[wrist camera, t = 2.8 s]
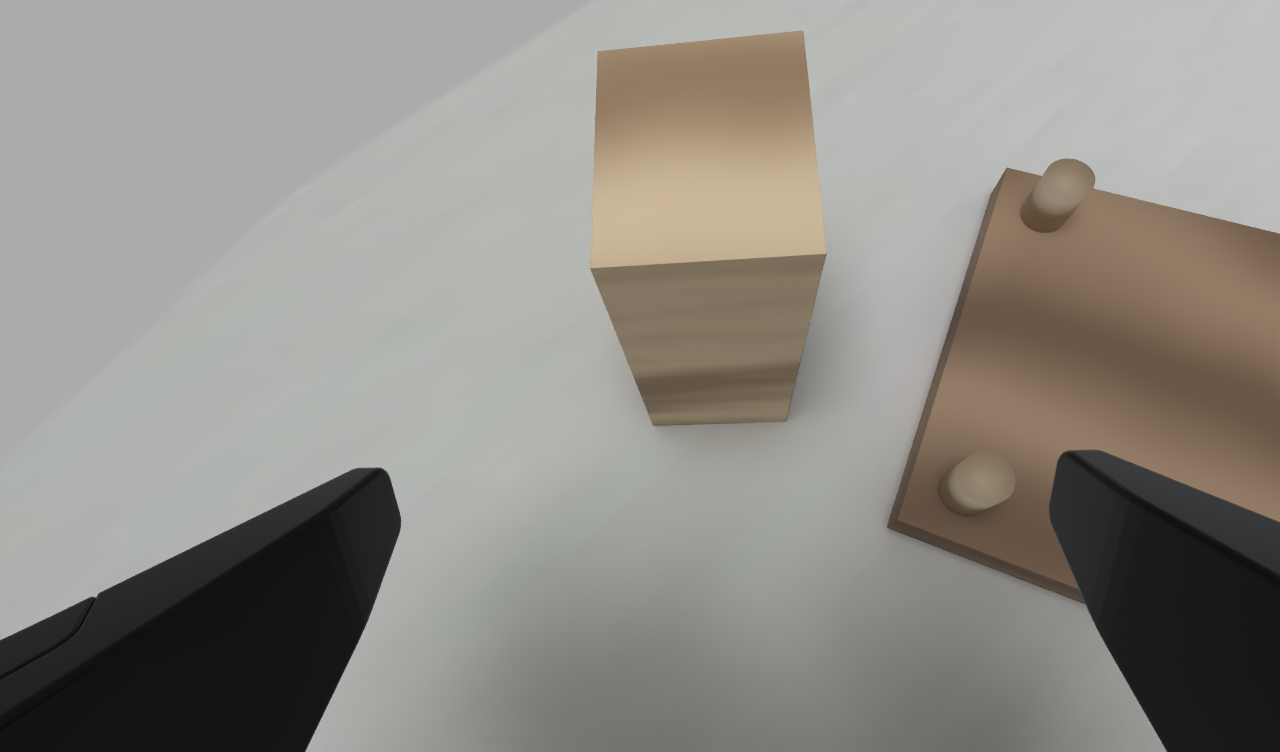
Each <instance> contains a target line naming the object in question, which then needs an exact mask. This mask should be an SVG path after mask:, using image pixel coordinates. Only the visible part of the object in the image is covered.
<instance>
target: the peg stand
mask: <svg viewBox="0 0 1280 752" xmlns="http://www.w3.org/2000/svg"><path fill="white" fill-rule="evenodd" d="M1094 184H1095V175H1094V173H1093V171H1092V170H1091V168H1090V167H1089V166H1087V165H1086V164H1085V163H1083V162H1081V161H1078V160H1075V159H1061V160H1058V161H1055V162H1053V163H1052V164H1051V165H1050V166H1049V167H1048V168H1047V170H1046V171H1045V173H1044V174H1043V176H1039V175H1035V174H1031V173H1027V172H1023V171H1018V170H1014V169H1010V168H1006V170H1005V172H1004V173H1003V175H1002V177H1001V178H1000V180H999V182H998V183H997V185H996V187H995V189H994V190H993V192H992V194H991V197H990V200H989V203H988V206H987V210H986V213H985V216H984V219H983V222H982V226H981V229H980V232H979V235H978V238H977V241H976V245H975V248H974V251H973V254H972V257H971V261H970V264H969V267H968V270H967V273H966V277H965V280H964V283H963V286H962V289H961V293H960V296H959V299H958V302H957V305H956V308H955V312H954V315H953V318H952V321H951V324H950V328H949V331H948V334H947V337H946V340H945V344H944V347H943V350H942V353H941V356H940V359H939V363H938V366H937V369H936V372H935V375H934V379H933V382H932V385H931V388H930V391H929V395H928V398H927V401H926V404H925V407H924V411H923V414H922V417H921V420H920V423H919V426H918V430H917V433H916V436H915V439H914V442H913V446H912V449H911V452H910V455H909V458H908V462H907V465H906V468H905V471H904V474H903V477H902V481H901V484H900V487H899V490H898V493H897V497H896V500H895V503H894V506H893V509H892V513H891V516H890V519H889V522H888V525H887V527H888V528H890V529H893V530H895V531H898V532H901V533H903V534H906V535H908V536H911V537H914V538H916V539H919V540H921V541H924V542H927V543H929V544H932V545H934V546H937V547H940V548H942V549H945V550H947V551H950V552H953V553H955V554H958V555H960V556H963V557H966V558H968V559H971V560H973V561H976V562H978V563H981V564H984V565H986V566H989V567H991V568H994V569H997V570H999V571H1002V572H1004V573H1007V574H1010V575H1012V576H1015V577H1017V578H1020V579H1023V580H1025V581H1028V582H1030V583H1033V584H1036V585H1038V586H1041V587H1043V588H1046V589H1049V590H1051V591H1054V592H1056V593H1059V594H1061V595H1064V596H1067V597H1069V598H1072V599H1074V600H1077V601H1080V602H1082V603H1085V601H1084V599H1083V597H1082V594H1081V592H1080V590H1079V587H1078V585H1077V583H1076V580H1075V578H1074V576H1073V573H1072V571H1071V569H1070V566H1069V564H1068V562H1067V560H1066V557H1065V555H1064V553H1063V550H1062V548H1061V546H1060V543H1059V541H1058V539H1057V536H1056V534H1055V532H1054V529H1053V527H1052V525H1051V521H1050V517H1049V501H1050V496H1051V491H1052V486H1053V481H1054V475H1055V470H1056V465H1057V461H1058V459H1059V457H1060V455H1061V454H1062V453H1063V452H1065V451H1068V450H1101V451H1104V452H1106V453H1109V454H1111V455H1114V456H1116V457H1119V458H1121V459H1124V460H1126V461H1129V462H1131V463H1134V464H1136V465H1139V466H1141V467H1144V468H1146V469H1149V470H1151V471H1154V472H1156V473H1159V474H1161V475H1164V476H1166V477H1169V478H1171V479H1174V480H1176V481H1179V482H1181V483H1184V484H1186V485H1189V486H1191V487H1194V488H1196V489H1199V490H1201V491H1204V492H1206V493H1209V494H1211V495H1214V496H1216V497H1219V498H1221V499H1224V500H1226V501H1229V502H1231V503H1234V504H1236V505H1239V506H1241V507H1244V508H1246V509H1249V510H1251V511H1254V512H1256V513H1259V514H1261V515H1264V516H1266V517H1269V518H1271V519H1274V520H1276V521H1279V522H1280V234H1278V233H1274V232H1270V231H1266V230H1262V229H1258V228H1254V227H1250V226H1245V225H1241V224H1237V223H1233V222H1229V221H1225V220H1221V219H1217V218H1212V217H1208V216H1204V215H1200V214H1196V213H1192V212H1188V211H1184V210H1179V209H1175V208H1171V207H1167V206H1163V205H1159V204H1155V203H1151V202H1146V201H1142V200H1138V199H1134V198H1130V197H1126V196H1122V195H1117V194H1113V193H1109V192H1105V191H1101V190H1097V189H1093V187H1094Z"/></svg>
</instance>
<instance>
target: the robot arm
mask: <svg viewBox="0 0 1280 752" xmlns="http://www.w3.org/2000/svg"><path fill="white" fill-rule="evenodd" d="M1049 517H1050V521H1051V525H1052V527H1053V529H1054V532H1055V534H1056V536H1057V539H1058V541H1059V543H1060V546H1061V548H1062V550H1063V553H1064V555H1065V557H1066V560H1067V562H1068V564H1069V566H1070V569H1071V571H1072V573H1073V576H1074V578H1075V580H1076V583H1077V585H1078V587H1079V590H1080V592H1081V594H1082V597H1083V599H1084V601H1085V604H1086V606H1087V608H1088V611H1089V613H1090V615H1091V617H1092V619H1093V621H1094V623H1095V625H1096V628H1097V629H1098V631H1099V633H1100V635H1101V637H1102V639H1103V641H1104V642H1105V644H1106V646H1107V648H1108V650H1109V651H1110V653H1111V655H1112V657H1113V658H1114V660H1115V662H1116V664H1117V665H1118V667H1119V669H1120V671H1121V672H1122V674H1123V676H1124V677H1125V679H1126V681H1127V683H1128V684H1129V686H1130V688H1131V690H1132V691H1133V693H1134V695H1135V697H1136V698H1137V700H1138V702H1139V704H1140V705H1141V707H1142V709H1143V711H1144V712H1145V714H1146V716H1147V718H1148V719H1149V721H1150V723H1151V724H1152V726H1153V728H1154V730H1155V731H1156V733H1157V735H1158V737H1159V738H1160V740H1161V742H1162V744H1163V745H1164V747H1165V749H1166V751H1167V752H1280V522H1279V521H1276V520H1274V519H1271V518H1269V517H1266V516H1264V515H1261V514H1259V513H1256V512H1254V511H1251V510H1249V509H1246V508H1244V507H1241V506H1239V505H1236V504H1234V503H1231V502H1229V501H1226V500H1224V499H1221V498H1219V497H1216V496H1214V495H1211V494H1209V493H1206V492H1204V491H1201V490H1199V489H1196V488H1194V487H1191V486H1189V485H1186V484H1184V483H1181V482H1179V481H1176V480H1174V479H1171V478H1169V477H1166V476H1164V475H1161V474H1159V473H1156V472H1154V471H1151V470H1149V469H1146V468H1144V467H1141V466H1139V465H1136V464H1134V463H1131V462H1129V461H1126V460H1124V459H1121V458H1119V457H1116V456H1114V455H1111V454H1109V453H1106V452H1104V451H1101V450H1068V451H1065V452H1063V453H1062V454H1061V455H1060V457H1059V459H1058V461H1057V465H1056V470H1055V475H1054V481H1053V486H1052V491H1051V496H1050V501H1049ZM400 528H401V516H400V512H399V508H398V504H397V501H396V497H395V494H394V490H393V487H392V483H391V480H390V477H389V474H388V473H387V471H385V470H384V469H382V468H356V469H353V470H351V471H349V472H347V473H344V474H342V475H340V476H338V477H336V478H334V479H332V480H330V481H328V482H326V483H324V484H322V485H320V486H318V487H316V488H314V489H312V490H310V491H308V492H306V493H303V494H301V495H299V496H297V497H295V498H293V499H291V500H289V501H287V502H285V503H283V504H281V505H279V506H277V507H275V508H273V509H271V510H269V511H267V512H264V513H262V514H260V515H258V516H256V517H254V518H252V519H250V520H248V521H246V522H244V523H242V524H240V525H238V526H236V527H234V528H232V529H230V530H228V531H225V532H223V533H221V534H219V535H217V536H215V537H213V538H211V539H209V540H207V541H205V542H203V543H201V544H199V545H197V546H195V547H193V548H191V549H189V550H187V551H184V552H182V553H180V554H178V555H176V556H174V557H172V558H170V559H168V560H166V561H164V562H162V563H160V564H158V565H156V566H154V567H152V568H150V569H148V570H145V571H143V572H141V573H139V574H137V575H135V576H133V577H131V578H129V579H127V580H125V581H123V582H121V583H119V584H117V585H115V586H113V587H111V588H109V589H106V590H104V591H102V592H100V593H99V594H98V595H97V597H96V598H95V597H90V598H88V599H86V600H84V601H82V602H80V603H77V604H75V605H73V606H71V607H69V608H67V609H65V610H63V611H61V612H59V613H57V614H55V615H53V616H51V617H49V618H46V619H44V620H42V621H40V622H38V623H36V624H34V625H32V626H30V627H27V628H25V629H23V630H21V631H19V632H17V633H15V634H13V635H11V636H8V637H6V638H4V639H2V640H0V752H305V751H306V749H307V747H308V745H309V743H310V741H311V739H312V737H313V734H314V732H315V730H316V728H317V726H318V724H319V722H320V720H321V718H322V716H323V714H324V712H325V710H326V708H327V706H328V704H329V701H330V699H331V697H332V695H333V693H334V691H335V689H336V687H337V685H338V683H339V681H340V679H341V677H342V675H343V673H344V670H345V668H346V666H347V664H348V662H349V660H350V658H351V656H352V654H353V652H354V650H355V648H356V646H357V644H358V642H359V639H360V637H361V635H362V633H363V630H364V628H365V626H366V624H367V621H368V619H369V616H370V614H371V611H372V609H373V606H374V603H375V600H376V597H377V595H378V592H379V589H380V586H381V583H382V581H383V578H384V575H385V572H386V569H387V567H388V564H389V561H390V558H391V555H392V553H393V550H394V547H395V544H396V541H397V539H398V536H399V533H400Z"/></svg>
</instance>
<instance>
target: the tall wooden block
mask: <svg viewBox="0 0 1280 752" xmlns="http://www.w3.org/2000/svg"><path fill="white" fill-rule="evenodd" d="M825 258H826V244H825V234H824V225H823V215H822V206H821V196H820V186H819V177H818V167H817V158H816V148H815V138H814V129H813V119H812V110H811V100H810V90H809V81H808V71H807V62H806V52H805V42H804V33H803V31H795V32H785V33H775V34H765V35H755V36H745V37H736V38H726V39H716V40H706V41H696V42H686V43H677V44H667V45H657V46H647V47H637V48H627V49H618V50H608V51H598V59H597V88H596V117H595V146H594V174H593V203H592V232H591V261H590V269H591V271H592V274H593V276H594V279H595V281H596V284H597V286H598V289H599V291H600V294H601V296H602V299H603V301H604V304H605V306H606V309H607V311H608V314H609V316H610V319H611V321H612V324H613V326H614V329H615V331H616V334H617V336H618V339H619V341H620V344H621V346H622V349H623V351H624V354H625V356H626V359H627V361H628V364H629V366H630V369H631V371H632V374H633V376H634V379H635V381H636V384H637V386H638V389H639V391H640V394H641V396H642V399H643V401H644V404H645V406H646V409H647V411H648V414H649V416H650V419H651V421H652V424H653V426H659V425H690V424H722V423H753V422H784V421H786V419H787V415H788V411H789V406H790V402H791V398H792V394H793V390H794V386H795V382H796V378H797V373H798V369H799V365H800V361H801V357H802V353H803V349H804V345H805V340H806V336H807V332H808V328H809V324H810V320H811V316H812V312H813V307H814V303H815V299H816V295H817V291H818V287H819V283H820V279H821V274H822V270H823V266H824V262H825Z"/></svg>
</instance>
